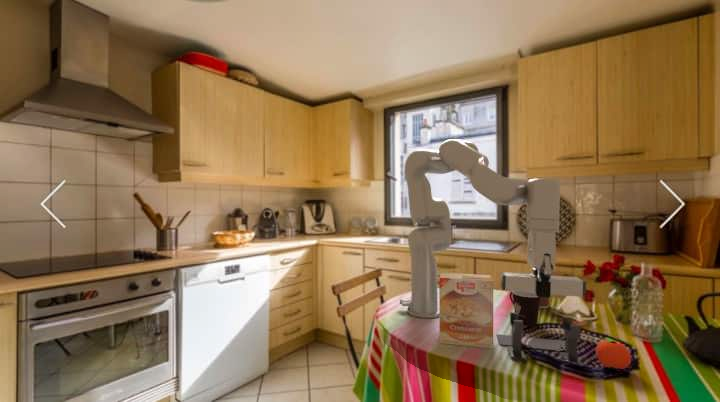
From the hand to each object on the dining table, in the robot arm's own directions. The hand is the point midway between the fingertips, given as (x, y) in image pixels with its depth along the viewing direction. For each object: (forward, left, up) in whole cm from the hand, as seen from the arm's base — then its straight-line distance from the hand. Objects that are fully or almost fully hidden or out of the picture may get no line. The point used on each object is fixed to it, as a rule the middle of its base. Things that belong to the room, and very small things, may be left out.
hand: (540, 293), depth 87 cm
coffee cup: (+10, +46, -17) cm, 50 cm away
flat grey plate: (0, +8, -17) cm, 19 cm away
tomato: (+15, -1, -17) cm, 23 cm away
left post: (-6, 0, -17) cm, 18 cm away
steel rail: (0, 0, +1) cm, 1 cm away
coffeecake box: (-19, +5, -17) cm, 26 cm away
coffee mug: (+1, +27, -17) cm, 32 cm away
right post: (+7, 0, -17) cm, 19 cm away
